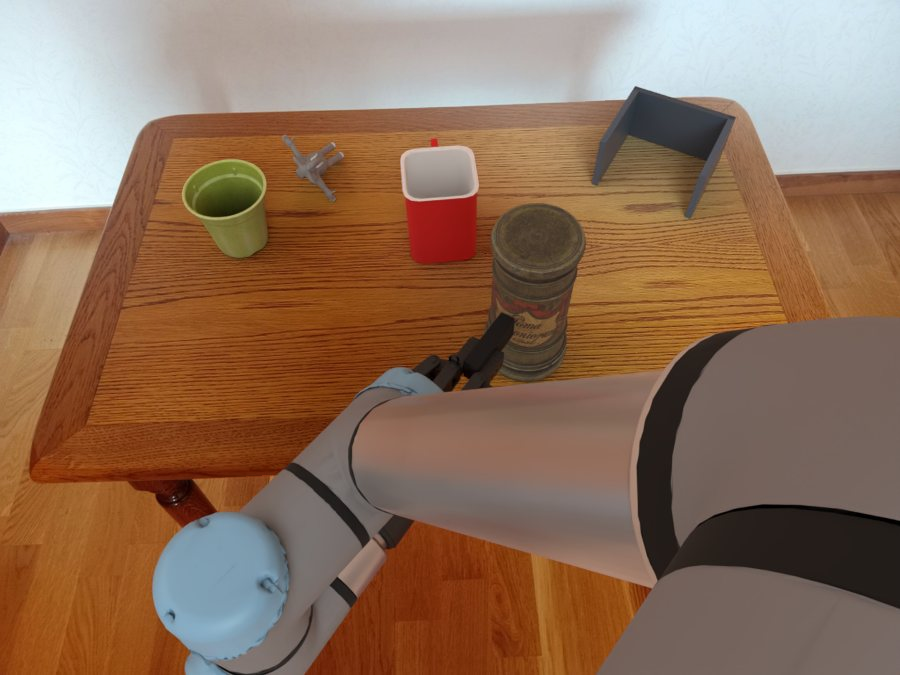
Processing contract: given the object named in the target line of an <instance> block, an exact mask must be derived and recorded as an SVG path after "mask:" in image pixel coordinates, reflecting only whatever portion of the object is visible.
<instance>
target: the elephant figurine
mask: <svg viewBox="0 0 900 675" xmlns="http://www.w3.org/2000/svg"><path fill="white" fill-rule="evenodd" d="M294 140H295V136H292V137H291V138H289V136H288V134H286V133H285V134H283V135H282V141H283V142H284V144H285V146H286V147H287V148H289V149H291V151H292V153H293V156H292V160H293V162H294V164H296V165H297V168H296V169H295V174H296V176H297V177H298V178H299V179H301V180H304V179H305V178H307V180H308V181H309V183H311V185H316V186H317V187H318V188H319V189H321V190H322V191H323V193H324V195H325V197H326V198H327V199H329V200H330V202H331V203H334V202H335V201H336V200H337V198H336V197H335V196H334V194H333V193H336V192H337V191H336V190H331V189H330V188H329V187H328V186H327V185H326V183H325V180H323V179H322V176H323V175H325V174H326V172H327V170H328V169H329V168H331V167H332V166H334V165H335V164H337V163H339V162H341V161H342V160H343V159H344V158H345V155H344V152H343V151H338V152H337V153H335V154H334V155H332V156H331V157H329V158H326V155H328V154H330V153H331V152H333V151H335V150H336V147H337V145H336V142H334V141H331V142H329V143H327V144H326V145H325V146H324V147H322V148H321V149H318V150H316V151H315V152H309V153H307V154H306V156H305V155H304V154H303V153H302V152H300V150H299V149H298V148H297V147H296V146H297V145H295V142H294Z"/></svg>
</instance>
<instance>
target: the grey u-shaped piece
mask: <svg viewBox="0 0 900 675" xmlns="http://www.w3.org/2000/svg"><path fill="white" fill-rule="evenodd" d="M736 118H737V116H734V115H731V114H728V113H724V112H721V111H718V110H714V109H712V108H708V107H705V106H702V105H698V104H695V103H692V102H688V101H685V100H682V99H679V98H676V97H673V96H669V95H666V94H663V93H660V92H656V91H653V90H649V89H646V88H643V87H640V86H636V85H635V86H634V87H633V89H632V90H631V91H630V93H629V95H627V98H626V100H625V101H624V103H623V104H622V106H620V108H619V111H618V112H617V113H616V115H615V116H614V118H613V120H612V121H611V123H610V124H609V126H608V127H607V129H606V131H605V132H604V133H603V136H602V137H601V138H600V140H599V144H598V149H597V154H596V159H595V164H594V169H593V174H592V179H591V185H594V186H599V183H601V180H602V179H603V177H604V175H605V174H606V172H607V170H608V168H609V167H610V166H611V164H612V162H613V161H614V159H615V157H616V156H617V154H618V153H619V151H620V149H621V148H622V146H623V144H624V142H625V141H626V140H627V138H628V136H631V137H635V138H637V139H640V140H644V141H646V142H650V143H652V144H655V145H659V146H662V147H665V148H668V149H671V150H674V151H677V152H680V153H683V154H685V155H689V156H692V157H695V158H698V159H701V160H704V161H705V163H704V165H703V167H702V169H701V171H700V174H699V175H698V177H697V181H696V182H695V186H694V189H693V191H692V195H691V197H690V200H689V202H688V206H687V208H686V211H685V214H684V217H685V218H687V219H692V217H693V215H694V213H695V211H696V209H697V207H698V205H699V203H700V201H701V199H702V197H703V195H704V193H705V191H706V189H707V186H708V184H709V182H710V181H711V178H712V176H713V174H714V173H715V170H716V169H717V166H718V164H719V162H720V161H721V157H722V155H723V153H724V149H725V147H726V146H727V145H726V144H727V142H728V140H729V137H730V134H731V133H732V132H731V131H732V129H733V126H734V124H735V121H736Z"/></svg>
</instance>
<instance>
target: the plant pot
mask: <svg viewBox="0 0 900 675" xmlns="http://www.w3.org/2000/svg"><path fill="white" fill-rule="evenodd" d="M267 187H268V184H267V178H266V175H265V174H264V172H263V170H261V168H260V167H259V166H257V165H256V164H254V163H252V162H250V161H247V160H243V159H236V158H227V159H220V160H216V161H213V162H209V163H207V164H204V165H203V166H201V167H199V168H198V169H197V170H195V171H194V172H193V173H192V174H191V175H190V176H189V177H188V178H187V180H186V181H185V182H184V184H183V187H182V191H181V199H182V202H183V204H184V206H185V208H186V209H187V211H188V212H190V214H192V215H193V216H195V217H196V219H198V220H199V221H201V223H202V225H203V226H204V228H205V229H206V231H207V232H208V233H209V235H210V237H211V238H212V239H213V241H214V243H215V245H217V248H218V249H219V250H220V251H221V253H223V254H224V255H226V256H227V257H231V258H236V259H242V258H243V259H244V258H248V257H251V256H252V255H253V254H255V253H257V252H258V251H261V250H262V249H264V247H265V246H266V244H267V243H268V240H269V230H268V222H267V214H266V206H265V197H266V193H267Z"/></svg>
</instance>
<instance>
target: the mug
mask: <svg viewBox="0 0 900 675" xmlns="http://www.w3.org/2000/svg"><path fill="white" fill-rule="evenodd" d="M475 156H476V155H475V153H474V151H473V149H472V148H470V147H469V146H466V145H459V144H457V145H444V146H443V145H441V146H439V143H438V139H437V138H436V137H433V138H431V139H430V147H429V146H428V147H417V148H416V147H415V148H410V149H408V150H406V151H404V152H403V153H402V154H401V155H400V159H399V162H400V163H399V164H400V165H399V166H400V177H401V190H402V191H401V192H402V194H403V196H404V201H405V202H404V203H405V210H406V222H407V230H408V231H407V232H408V240H409V241H408V242H409V251H410V256H411V258H412V260H413V261H414V262H416V263H418V264H424V265H426V264H438V263H452V262H462V261H463V262H465V261H467V260H470V259H472V258H473V257H474V256H475V255H476V252H477V226H478V225H477V224H478V223H477V222H478V221H477V219H478V218H477V216H478V192H479V189H480V182H479V176H478V169H477V163H476V157H475Z"/></svg>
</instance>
